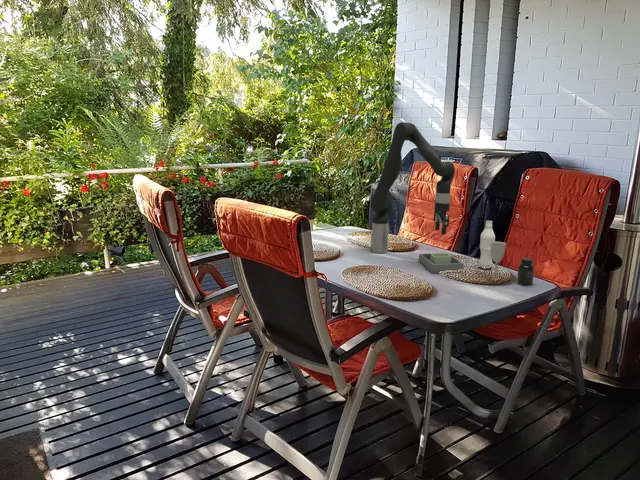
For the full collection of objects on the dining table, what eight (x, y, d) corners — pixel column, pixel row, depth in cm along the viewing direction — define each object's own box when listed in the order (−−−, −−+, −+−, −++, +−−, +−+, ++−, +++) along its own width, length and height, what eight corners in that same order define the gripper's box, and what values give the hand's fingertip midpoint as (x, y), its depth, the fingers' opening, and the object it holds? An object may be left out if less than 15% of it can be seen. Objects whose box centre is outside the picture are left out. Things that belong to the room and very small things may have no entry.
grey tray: (432, 273, 244) (433, 265, 243) (418, 262, 263) (419, 254, 262) (463, 272, 246) (463, 263, 245) (446, 260, 266) (447, 252, 264)
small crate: (434, 267, 251) (434, 256, 250) (429, 263, 257) (430, 253, 255) (450, 266, 252) (451, 256, 251) (446, 262, 258) (446, 252, 257)
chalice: (502, 277, 237) (506, 242, 233) (503, 282, 231) (506, 245, 227) (487, 276, 240) (490, 241, 235) (486, 280, 234) (490, 244, 229)
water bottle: (493, 267, 254) (497, 220, 248) (491, 271, 248) (495, 223, 241) (478, 265, 257) (482, 219, 251) (476, 269, 251) (480, 221, 244)
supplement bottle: (532, 282, 231) (535, 258, 228) (532, 286, 225) (535, 262, 222) (517, 280, 234) (519, 256, 231) (516, 284, 228) (519, 260, 225)
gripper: (430, 199, 254) (428, 229, 258) (440, 204, 240) (438, 236, 245) (443, 198, 255) (441, 228, 259) (455, 203, 242) (452, 235, 246)
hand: (440, 232), depth 252 cm, fingers open, 8 cm apart
